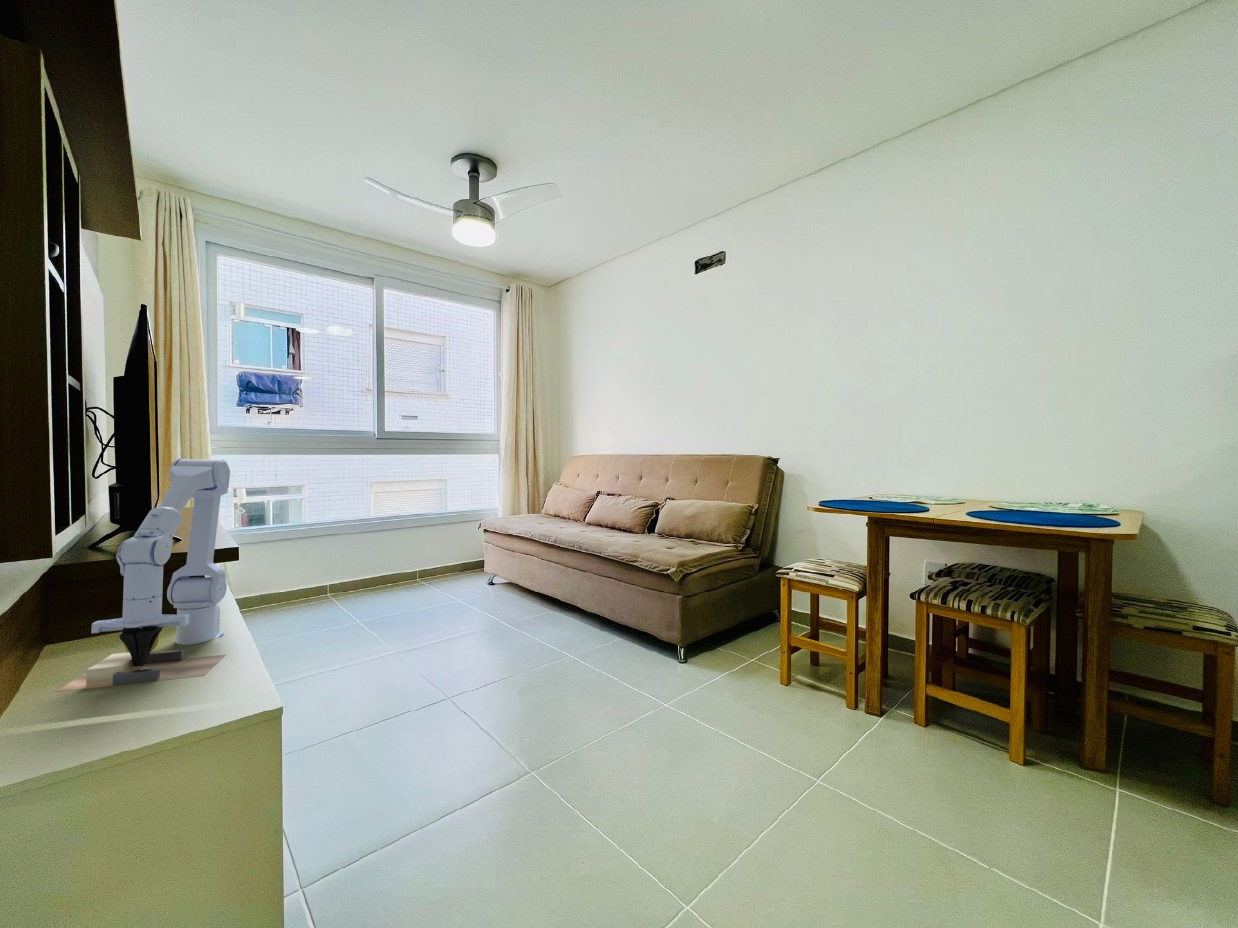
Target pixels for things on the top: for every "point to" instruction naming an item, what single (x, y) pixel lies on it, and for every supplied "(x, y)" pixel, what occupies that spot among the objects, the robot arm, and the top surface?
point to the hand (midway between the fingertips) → (140, 664)
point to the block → (109, 668)
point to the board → (161, 671)
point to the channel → (148, 674)
